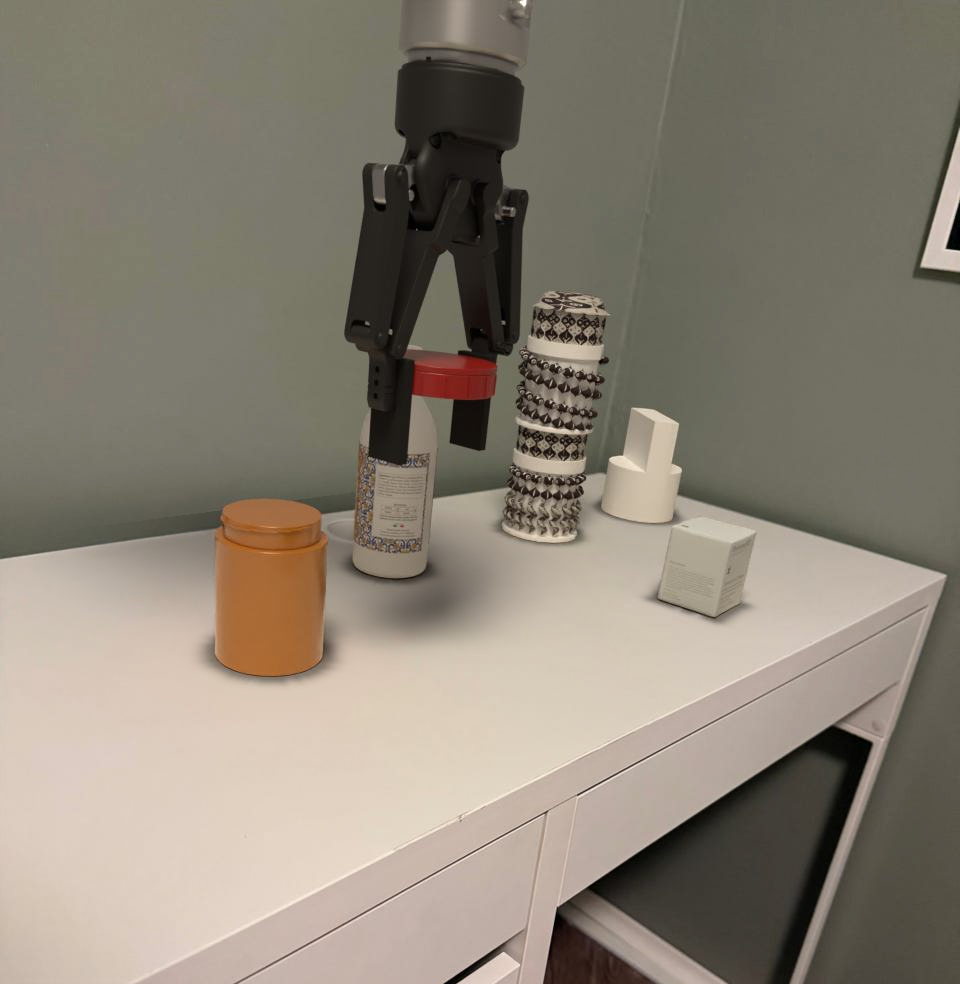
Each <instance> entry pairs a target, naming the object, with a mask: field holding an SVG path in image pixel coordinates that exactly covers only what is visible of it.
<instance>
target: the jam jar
mask: <svg viewBox="0 0 960 984" xmlns="http://www.w3.org/2000/svg"><path fill="white" fill-rule="evenodd" d="M220 515H221V516H220V519H219V520H220V522H221V524H222V525H220V526H219V527H218V528H216V530H215V532H214V654H215V657H216V659H217V661H218V662H219V663H220V664H222V665H223V666H224V667H226V668H228V669H230V670H233V671H235V672H238V673H242V674H246V675H252V676H259V677H280V676H289V675H296V674H299V673H302V672H306V671H309V670H310V669H312V668H314V667H316V666H317V665H318V664H319V663H320V662H321V660H322V658H323V655H324V635H325V634H324V633H325V617H326V616H325V614H326V592H327V573H328V554H329V553H328V550H329V536H328V535H327V533H326V532H325V531H323V530H322V526H323V525H322V524H323V523H322V522H323V514H322V513H321V511H319V509H317V508H315V507H313V506H311V505H309V504H306V503H303V502H298V501H294V500H287V499H281V498H280V499H279V498H250V499H242V500H237V501H233V502H231V503H228V504H226V505H225V506H224V507H223V508H222V513H221V514H220Z"/></svg>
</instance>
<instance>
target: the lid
mask: <svg viewBox="0 0 960 984" xmlns="http://www.w3.org/2000/svg"><path fill="white" fill-rule="evenodd" d="M403 358H407V359H411V360H415V365H414V378H413V391H412V395H417V396H422V397H423V398H425V397H426V398H431V399H432V398H433V399H442V400H443V399H444V400H453V399H456V400H478V399H487V398H490V397H491V398H492V397H494V396H495V395H496V389H497V378H498V375H497V373H498V365H497V363H496V364H495V363H493V362H490V361H487V360H483V359H479V358H475V357H470V356H465V355H459V354H458V353H452V352H445V351H437V350H427V349H425V350H424V349H423V350H412V349H407V350H406V353H405V355H404V357H403Z"/></svg>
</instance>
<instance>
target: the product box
mask: <svg viewBox="0 0 960 984" xmlns="http://www.w3.org/2000/svg"><path fill="white" fill-rule="evenodd" d="M756 537H757V530H754V529H751V528H749V527H744V526H741V525H736V524H732V523H728V522H724V521H720V520H716V519H714V518H713V519H712V518H709V517H705V516H697V517H693V518H689V519H685V520H684V521H682V522H679V523H676V524H674V525H672V526H671V529H670V533H669V539H668V544H667V550H666V553H665V558H664V564H663V567H662V572H661V576H660V577H661V578H660V583H659V586H658V592H657V599H658V600H661V601H663V602H666V603H669V604H671V605H675V606H678V607H681V608H684V609H687V610H690V611H694V612H696V613H700V614H702V615H705V616H707V617H712V618H717V617H718V616H719V615H721V614H723V613H724V612H726V611H728V610H730V609H732V608H734V607H736V606H739V604H740V603H741V600H742V596H743V591H744V587H745V583H746V578H747V574H748V569H749V565H750V561H751V557H752V553H753V548H754V544H755V540H756Z"/></svg>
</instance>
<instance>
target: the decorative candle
mask: <svg viewBox="0 0 960 984" xmlns="http://www.w3.org/2000/svg"><path fill="white" fill-rule="evenodd" d="M531 306H532V307H533V309H532V317H531V324H530V333H529V335H527V342H526V344H525V345H524V346H523V347H522V348H520V349H519V352H518V353H519V355H520V357H521V360H523V361H522V362H521V363H519V364H518V366H517V369H518V373H519V374H520V375H521V376H523V378H524V379H522V380H520V382H519V383H518V384H517V385H516V390H517V392H518V394H519V397H518V398H516V399H515V408H516V409H517V410H519V411H520V413H519V414H518V415H517V416H515V417H514V422H515V423H516V424H517V425H518V429H517V435H516V443H515V447H514V448H513V452H512V453H513V454H512V463H510V464H509V465H508V470H509V473H510V474H511V475H512V476H510V477H509V478H507V480H506V483H507V487H508V488H509V489H510V490H509V491H508V492H507V493H506V494H505V496H504V502H505V505H506V506H505V507H504V508H503V510H502V515H503V517H504V520H503V521H502V523H501V527H502V529H503V531H504V532H506V533H508V534H509V535H510V536H514V537H517V538H520V539H522V540H527V541H532V542H538V543H548V544H549V543H551V544H552V543H553V544H557V543H567V542H570V541H573V540H575V539H576V538H577V536H578V531H577V530H576V529H577V527H578V525H580V519H579V514H580V513H581V511H582V509H583V508H582V503H581V501H580V500H579V499H578V498H581V497H582V496H583V495H584V494H585V490H584V488H583V486H582V484H583V483H584V482H585V481H587V475H586V473H585V472H584V471H585V470H586V464H587V456H586V450H587V446H588V437H589V435H590V434H592V433H593V432H594V429H595V427H594V425H592V423H591V422H590V421H592V420H594V419H596V418H597V417H598V415H599V414H598V413H599V412H598V411H596V410H595V408H593V402H595V401H597V400H599V399H602V397H603V393H602V392H601V391H600V390H599V389H598V388H596V387H597V386H600V385H603V384H604V383H605V381H606V379H605V377H604V375H602V374H601V373H600V372H598V368H599V367H603V366H605V365H607V364H608V363H610V359H609V357H607V356H604V349H605V344H604V336H605V332H606V322H607V318H608V316H611V313H608V312H607V310H606V308H605V305H604V302H603V300H602V299H601V298H600V297H599V296H596V295H592V294H586V293H579V292H570V291H563V290H561V291H560V290H548V291H546V292H544V293H543V294H542V296H541V297H540V299H539V300H538V301H537V302H536V303H534V304H531Z"/></svg>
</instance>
